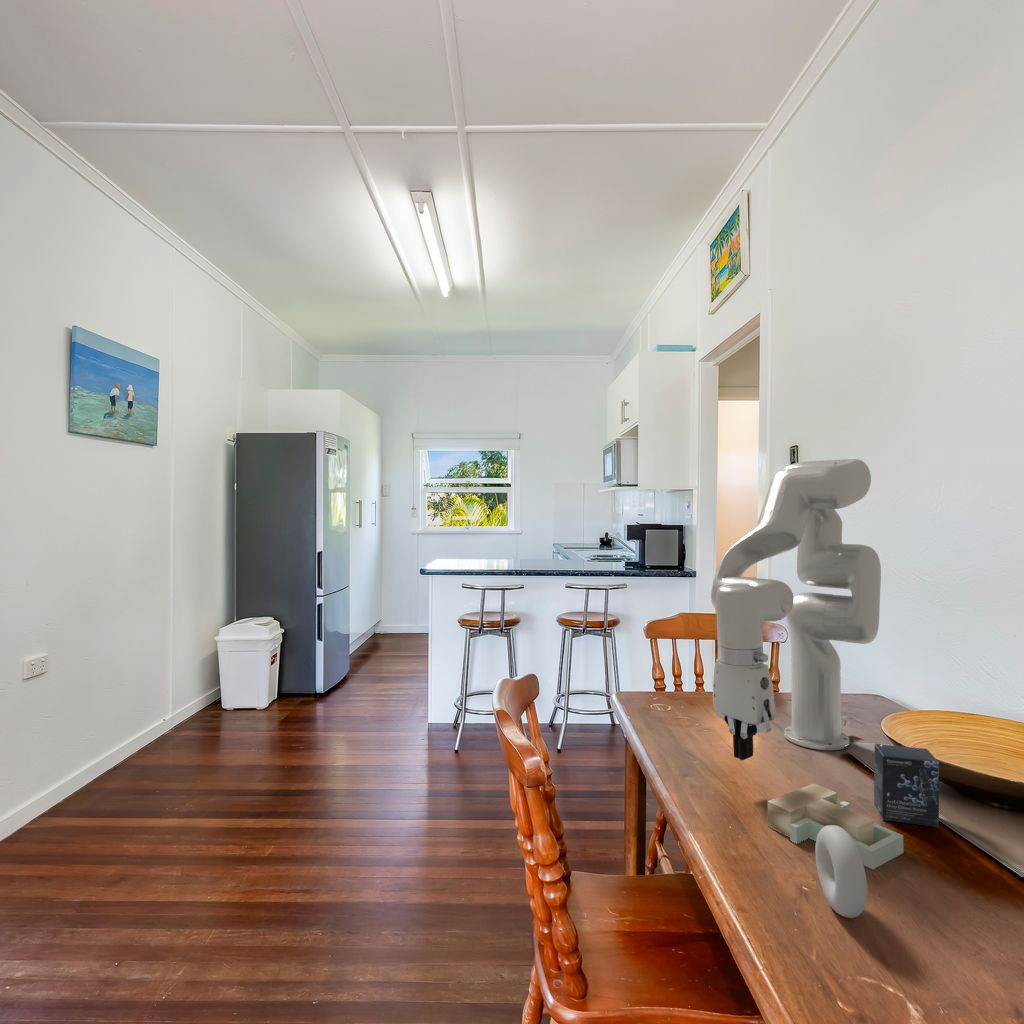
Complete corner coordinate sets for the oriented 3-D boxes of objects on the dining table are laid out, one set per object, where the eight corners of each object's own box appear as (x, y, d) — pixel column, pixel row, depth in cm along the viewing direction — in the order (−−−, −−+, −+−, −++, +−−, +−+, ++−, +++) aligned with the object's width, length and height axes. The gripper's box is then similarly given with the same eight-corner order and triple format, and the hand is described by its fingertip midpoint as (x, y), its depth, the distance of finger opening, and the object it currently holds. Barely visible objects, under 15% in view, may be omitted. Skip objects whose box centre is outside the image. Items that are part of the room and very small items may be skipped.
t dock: (844, 816, 99) (843, 801, 99) (914, 846, 90) (913, 829, 90) (790, 841, 92) (790, 824, 92) (860, 876, 83) (860, 858, 83)
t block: (767, 826, 96) (767, 801, 96) (814, 807, 102) (813, 783, 102) (842, 864, 86) (841, 835, 86) (888, 840, 92) (888, 813, 92)
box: (883, 821, 97) (882, 755, 97) (873, 805, 103) (873, 742, 103) (940, 829, 95) (940, 761, 95) (927, 811, 100) (927, 747, 100)
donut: (811, 884, 81) (810, 809, 81) (838, 886, 81) (838, 810, 81) (841, 936, 71) (840, 851, 71) (873, 939, 71) (872, 852, 71)
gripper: (791, 660, 104) (794, 766, 104) (720, 643, 116) (723, 737, 117) (763, 668, 100) (766, 778, 100) (692, 650, 112) (696, 748, 113)
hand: (743, 756), depth 109 cm, fingers closed
